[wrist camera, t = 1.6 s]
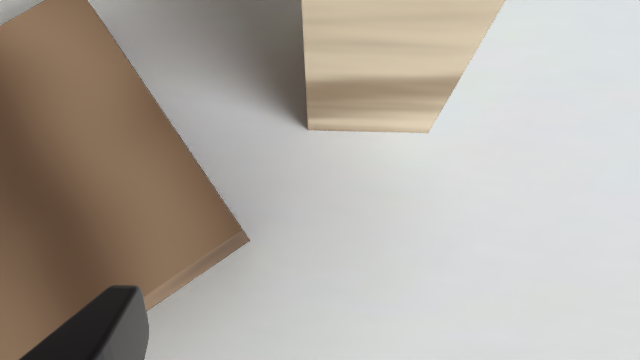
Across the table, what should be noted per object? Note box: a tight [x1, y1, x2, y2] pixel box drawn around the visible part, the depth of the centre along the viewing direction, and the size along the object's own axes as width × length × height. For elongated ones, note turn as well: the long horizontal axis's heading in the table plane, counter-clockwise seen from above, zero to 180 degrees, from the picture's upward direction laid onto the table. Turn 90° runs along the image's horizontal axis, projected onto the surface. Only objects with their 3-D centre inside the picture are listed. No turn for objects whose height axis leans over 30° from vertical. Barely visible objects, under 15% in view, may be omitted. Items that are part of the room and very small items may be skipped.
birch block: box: [302, 0, 505, 133], centre depth 19 cm, size 5×5×11 cm
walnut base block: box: [0, 0, 250, 360], centre depth 21 cm, size 12×12×2 cm
